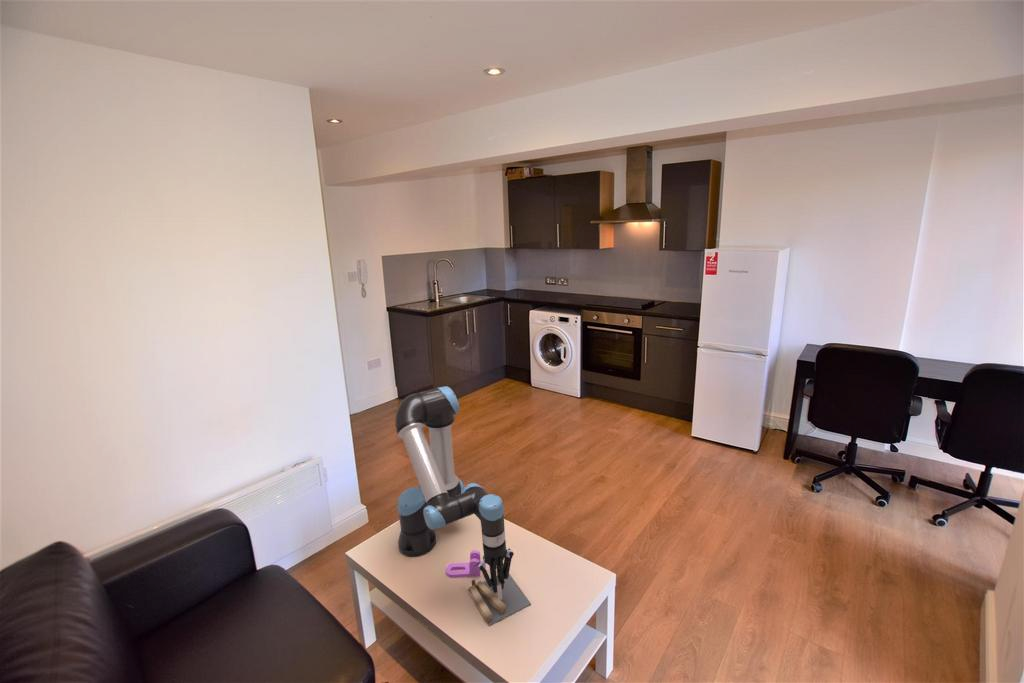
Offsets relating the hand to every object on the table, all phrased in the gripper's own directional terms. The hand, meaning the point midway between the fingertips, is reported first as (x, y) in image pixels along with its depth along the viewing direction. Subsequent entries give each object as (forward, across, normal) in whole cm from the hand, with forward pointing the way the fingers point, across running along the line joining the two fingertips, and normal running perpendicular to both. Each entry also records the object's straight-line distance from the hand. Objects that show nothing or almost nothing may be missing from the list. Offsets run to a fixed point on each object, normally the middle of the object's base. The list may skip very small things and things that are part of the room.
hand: (498, 597), depth 156 cm
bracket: (+2, -5, +19) cm, 20 cm away
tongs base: (+2, -6, +2) cm, 7 cm away
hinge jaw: (+1, -2, +2) cm, 3 cm away
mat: (+2, +1, +2) cm, 3 cm away
